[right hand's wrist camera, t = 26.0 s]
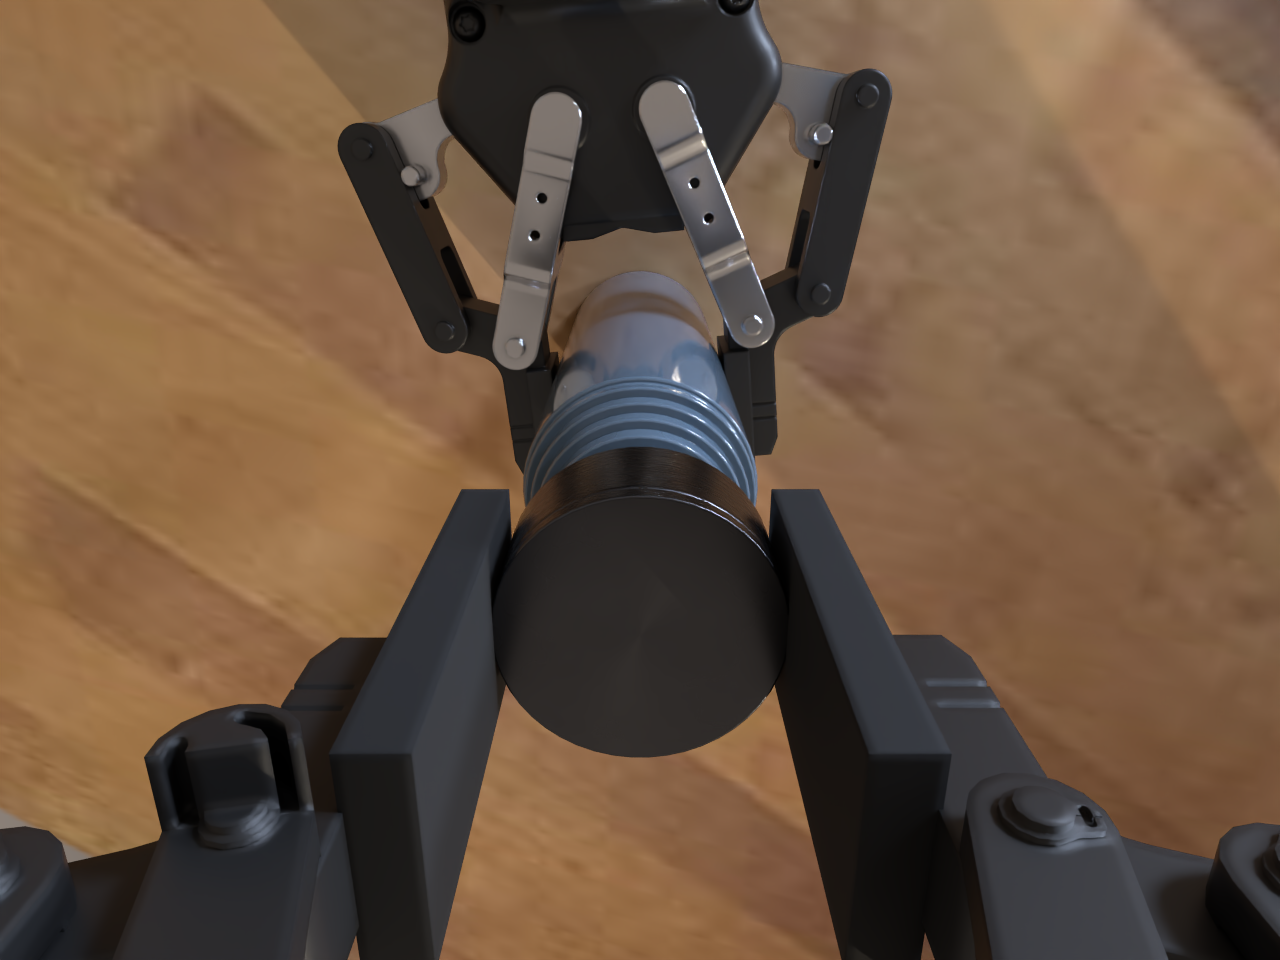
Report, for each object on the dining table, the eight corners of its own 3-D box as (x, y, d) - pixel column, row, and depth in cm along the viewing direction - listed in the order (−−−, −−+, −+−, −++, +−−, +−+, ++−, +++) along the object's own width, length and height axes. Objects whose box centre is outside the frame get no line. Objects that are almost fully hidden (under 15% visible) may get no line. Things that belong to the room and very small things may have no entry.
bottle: (574, 405, 32) (494, 740, 14) (569, 271, 30) (472, 463, 12) (706, 404, 32) (789, 738, 14) (708, 270, 30) (806, 460, 12)
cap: (480, 638, 15) (455, 713, 13) (554, 409, 14) (539, 454, 12) (715, 707, 16) (726, 790, 14) (811, 493, 14) (839, 550, 12)
